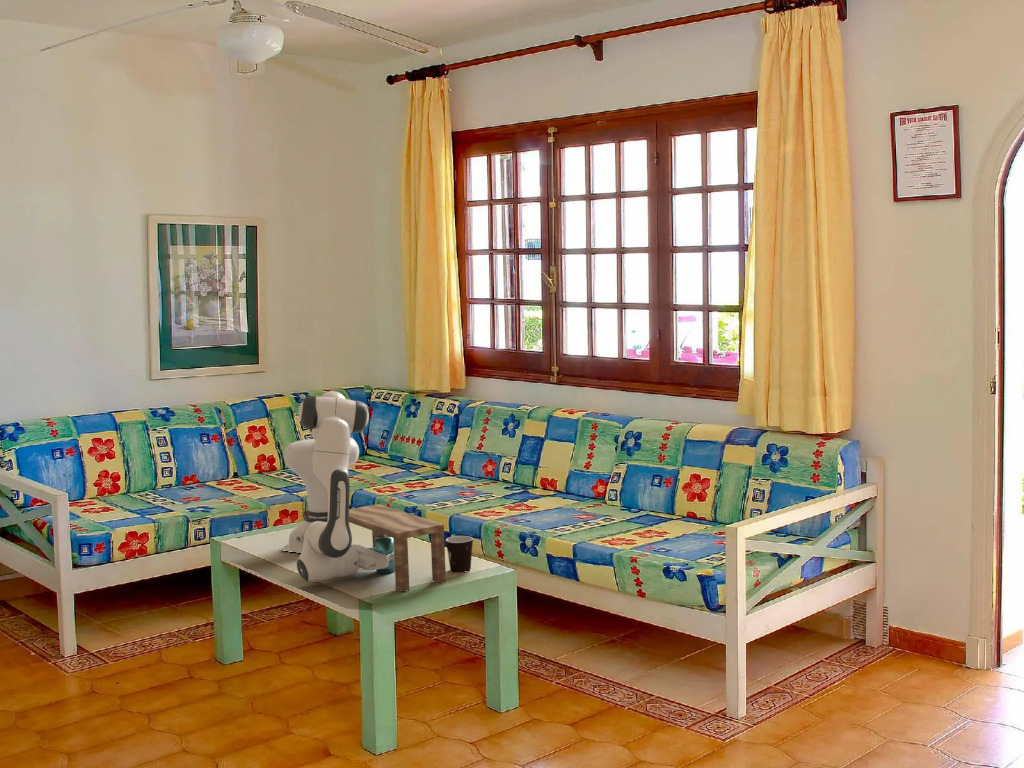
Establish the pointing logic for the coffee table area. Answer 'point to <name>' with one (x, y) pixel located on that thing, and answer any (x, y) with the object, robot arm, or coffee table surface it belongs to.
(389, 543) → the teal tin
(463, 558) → the coffee mug
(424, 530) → the low shelf
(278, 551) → the coffee table surface
